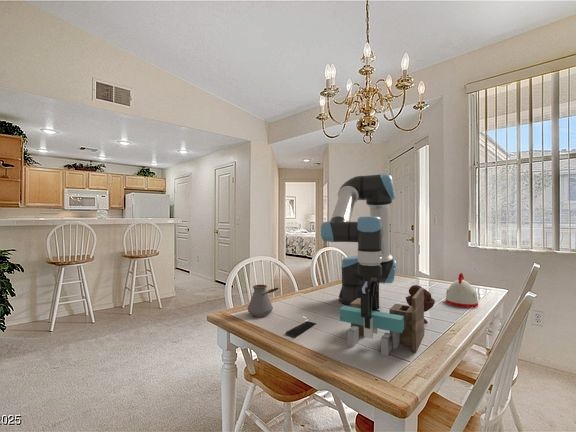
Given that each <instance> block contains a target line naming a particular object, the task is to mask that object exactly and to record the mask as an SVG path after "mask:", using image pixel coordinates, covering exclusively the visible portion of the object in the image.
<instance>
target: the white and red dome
mask: <svg viewBox="0 0 576 432" xmlns="http://www.w3.org/2000/svg"><path fill="white" fill-rule="evenodd" d="M445 302H446V304H448V305H451V306H454V307H459V308H468V309H470V308H471V307H473V308H477V307H478V306H479V300H478V293H477V290H475V289H474V287H473V286H472V285H471V284H470V283H469V282H468V281H466V280H465V276H464V275H463V273H462V272H460V273H459V274H458V279H457V280H454V281H453V282H452V283H451V284H450V286H449V287H447V288H446V293H445ZM476 306H477V307H476Z"/></svg>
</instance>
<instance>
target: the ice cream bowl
mask: <svg viewBox="0 0 576 432" xmlns="http://www.w3.org/2000/svg"><path fill="white" fill-rule="evenodd" d="M420 288H423V286H421V285H418V284H413V285H411V286H410V287H409V289H408V294H409V295H407V296H405V301H406V303H407V305H408V306H412V297H413V296H414V295H415V294H416V293H417V291H418V290H419V289H420ZM435 303H436V300H435V299H434V298H433V297H432V294H431V293H430V291H428V290H427V289H426V288H424V313H425V312H428V311H429V310H431V309H432V308H433V307H434V305H435ZM428 323H429V321H428V320H427V319H425V318H424V325H427V324H428Z"/></svg>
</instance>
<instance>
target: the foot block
mask: <svg viewBox="0 0 576 432" xmlns="http://www.w3.org/2000/svg"><path fill="white" fill-rule="evenodd" d="M349 306H350V307H354V308H360V309H361V298H357V299H356V300H354V301H353V302H351V303H350V305H349ZM352 326H357V327H359V336H362V337H364V326H363V325H359V324H354V323H350V328H351V327H352Z"/></svg>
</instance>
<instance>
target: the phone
mask: <svg viewBox="0 0 576 432" xmlns="http://www.w3.org/2000/svg"><path fill="white" fill-rule="evenodd" d="M316 325H317V323H315V322H313V321H304V322H303V323H301V324H299V325H297V326H294V327H293V328H291V329H289V330H286V331H285V336H288V337H291V338H294V339H296V338H298V337H299V336H301V335H302V334H304V333H305V332H307V331H308V330H310V329H311V328H313V327H314V326H316Z"/></svg>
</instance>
